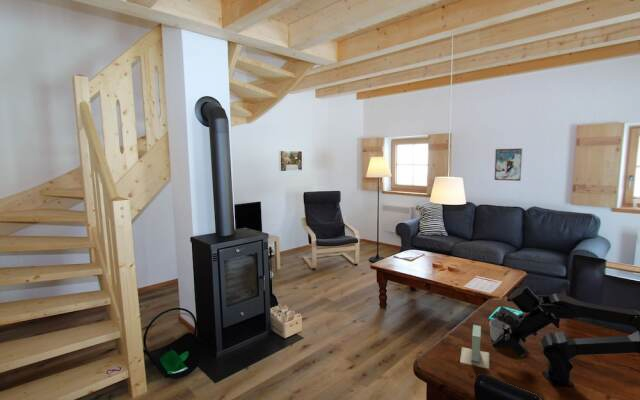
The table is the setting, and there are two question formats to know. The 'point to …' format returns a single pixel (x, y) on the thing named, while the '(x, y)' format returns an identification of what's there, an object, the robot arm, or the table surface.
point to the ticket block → (467, 355)
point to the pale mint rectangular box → (476, 344)
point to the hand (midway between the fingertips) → (493, 346)
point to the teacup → (496, 328)
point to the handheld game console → (507, 309)
